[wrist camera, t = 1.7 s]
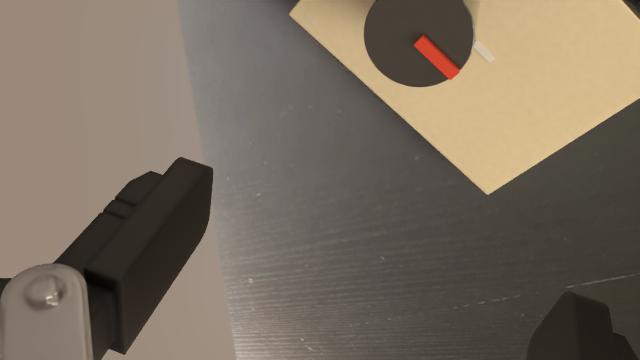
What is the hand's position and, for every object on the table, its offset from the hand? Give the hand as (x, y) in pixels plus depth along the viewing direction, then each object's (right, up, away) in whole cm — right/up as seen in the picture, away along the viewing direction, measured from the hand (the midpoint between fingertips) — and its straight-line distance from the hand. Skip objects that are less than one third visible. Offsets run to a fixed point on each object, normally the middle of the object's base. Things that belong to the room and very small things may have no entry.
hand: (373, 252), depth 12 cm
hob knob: (+4, +11, +15) cm, 19 cm away
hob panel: (+7, +10, +18) cm, 22 cm away
